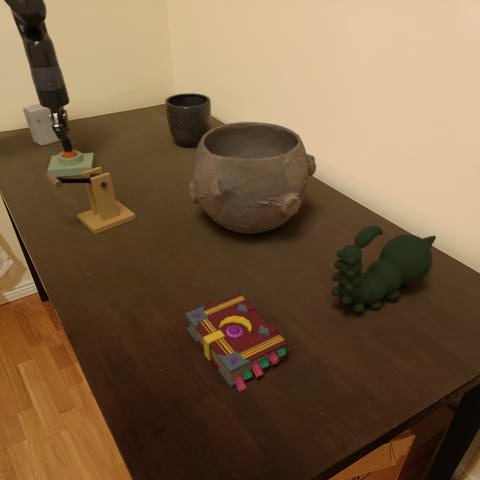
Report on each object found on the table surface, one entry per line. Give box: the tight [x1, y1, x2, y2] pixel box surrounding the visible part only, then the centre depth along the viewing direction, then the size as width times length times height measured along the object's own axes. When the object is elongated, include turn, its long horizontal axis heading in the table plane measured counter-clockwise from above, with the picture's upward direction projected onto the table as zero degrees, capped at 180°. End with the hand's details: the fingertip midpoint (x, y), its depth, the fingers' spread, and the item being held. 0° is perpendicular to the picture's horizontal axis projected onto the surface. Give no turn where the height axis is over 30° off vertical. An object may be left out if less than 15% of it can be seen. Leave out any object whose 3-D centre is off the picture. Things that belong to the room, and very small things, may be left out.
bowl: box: [188, 121, 317, 235], centre depth 97 cm, size 27×29×20 cm
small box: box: [22, 103, 61, 147], centre depth 137 cm, size 8×6×10 cm
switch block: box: [46, 150, 96, 177], centre depth 124 cm, size 12×10×4 cm
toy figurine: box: [330, 224, 437, 314], centre depth 78 cm, size 9×19×25 cm
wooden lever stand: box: [76, 166, 137, 235], centre depth 101 cm, size 11×9×12 cm
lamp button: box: [61, 148, 76, 158], centre depth 123 cm, size 4×4×2 cm
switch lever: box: [45, 172, 101, 188], centre depth 95 cm, size 12×5×2 cm, turn 130°
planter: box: [164, 92, 212, 148], centre depth 135 cm, size 14×14×13 cm
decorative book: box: [185, 293, 289, 392], centre depth 72 cm, size 11×16×5 cm
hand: (68, 151), depth 122 cm, fingers closed
